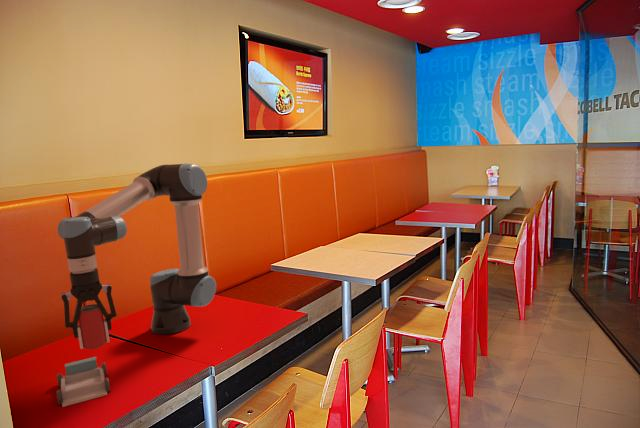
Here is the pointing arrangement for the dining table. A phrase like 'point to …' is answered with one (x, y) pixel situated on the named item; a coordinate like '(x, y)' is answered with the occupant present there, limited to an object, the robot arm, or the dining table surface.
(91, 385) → the chassis
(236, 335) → the dining table surface
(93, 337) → the beer can
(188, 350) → the dining table surface
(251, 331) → the dining table surface
